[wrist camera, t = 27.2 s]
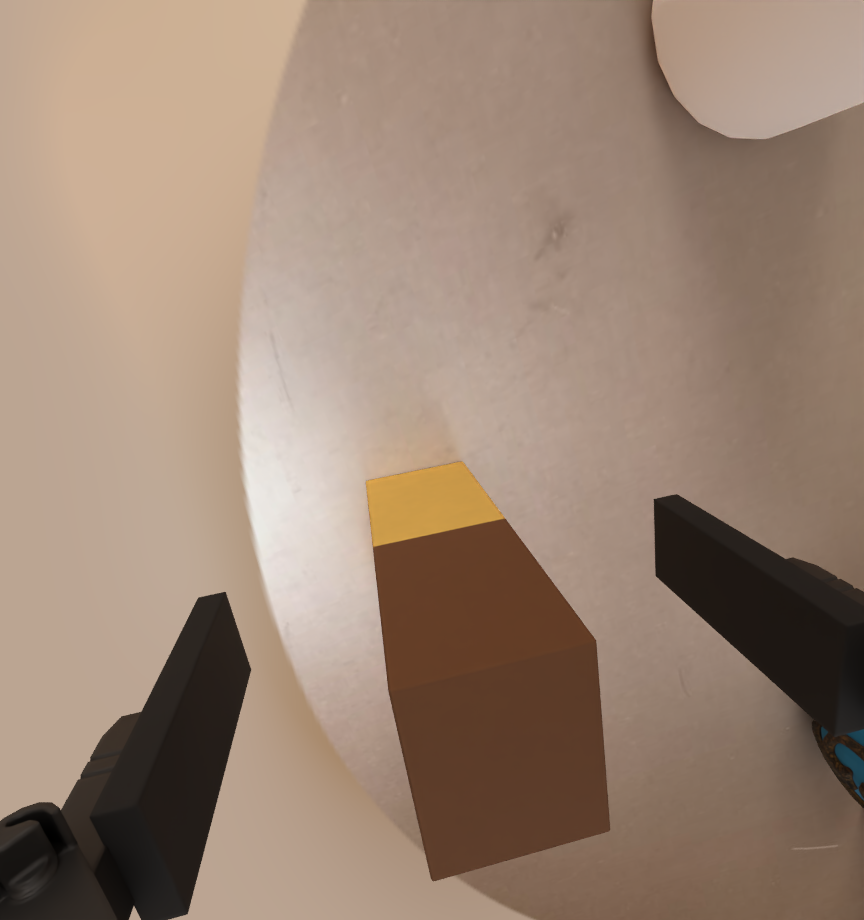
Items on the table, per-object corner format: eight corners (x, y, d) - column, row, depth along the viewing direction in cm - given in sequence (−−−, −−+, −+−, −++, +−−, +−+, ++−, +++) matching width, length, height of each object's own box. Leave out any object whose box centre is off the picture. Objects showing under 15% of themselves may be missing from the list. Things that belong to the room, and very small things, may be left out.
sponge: (388, 588, 22) (431, 883, 11) (365, 480, 21) (388, 691, 9) (478, 568, 23) (611, 832, 11) (462, 460, 21) (597, 639, 10)
